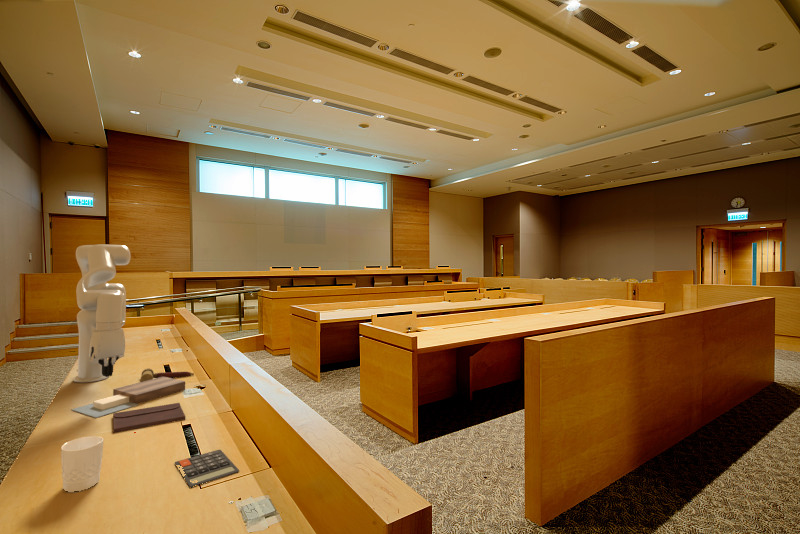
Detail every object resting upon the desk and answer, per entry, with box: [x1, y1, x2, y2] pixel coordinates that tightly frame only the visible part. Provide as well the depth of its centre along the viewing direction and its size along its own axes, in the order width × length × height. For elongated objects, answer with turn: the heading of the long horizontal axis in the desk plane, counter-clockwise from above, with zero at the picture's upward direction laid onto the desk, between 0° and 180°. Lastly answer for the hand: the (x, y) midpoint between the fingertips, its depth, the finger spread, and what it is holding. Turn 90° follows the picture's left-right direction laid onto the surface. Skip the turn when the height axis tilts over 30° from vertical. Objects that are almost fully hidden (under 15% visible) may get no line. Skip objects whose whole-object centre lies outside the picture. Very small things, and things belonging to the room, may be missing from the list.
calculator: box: [174, 449, 240, 488], centre depth 103 cm, size 12×1×15 cm
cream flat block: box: [92, 394, 129, 410], centre depth 144 cm, size 6×9×2 cm, turn 156°
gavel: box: [140, 368, 195, 382], centre depth 179 cm, size 21×5×10 cm
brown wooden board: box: [112, 377, 186, 405], centre depth 158 cm, size 14×20×4 cm
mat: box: [71, 402, 139, 419], centre depth 142 cm, size 15×14×1 cm
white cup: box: [60, 435, 104, 493], centre depth 93 cm, size 8×8×10 cm
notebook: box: [112, 402, 186, 434], centre depth 133 cm, size 15×20×2 cm
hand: (107, 375), depth 144 cm, fingers closed
